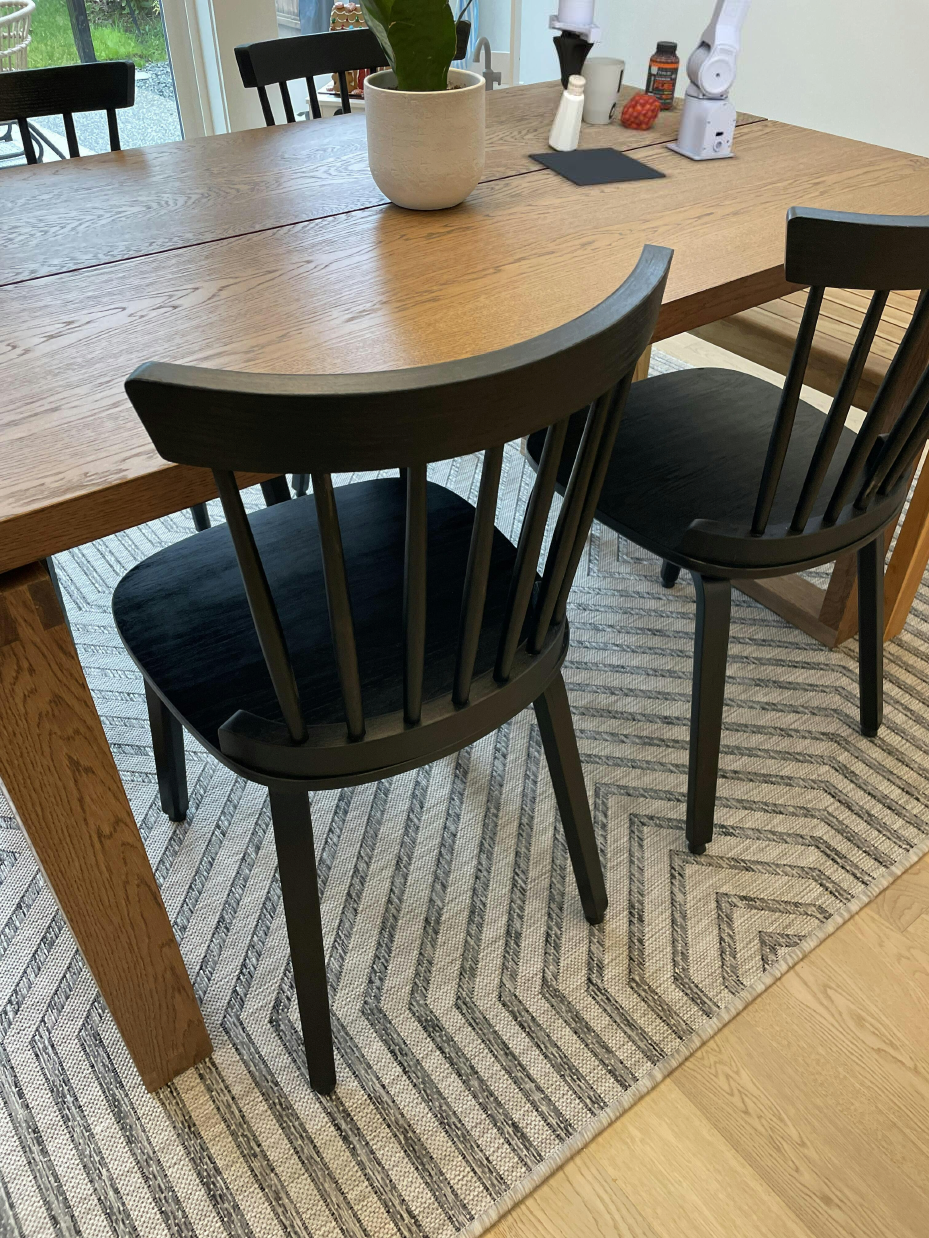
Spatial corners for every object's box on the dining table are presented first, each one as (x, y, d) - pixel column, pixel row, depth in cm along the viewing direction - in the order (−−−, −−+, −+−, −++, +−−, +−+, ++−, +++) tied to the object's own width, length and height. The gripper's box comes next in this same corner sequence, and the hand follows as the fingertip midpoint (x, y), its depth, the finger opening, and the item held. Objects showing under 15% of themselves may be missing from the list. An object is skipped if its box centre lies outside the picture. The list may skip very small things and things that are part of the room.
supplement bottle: (650, 111, 184) (659, 45, 177) (638, 104, 189) (646, 40, 181) (677, 110, 186) (687, 45, 178) (664, 103, 190) (674, 39, 183)
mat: (665, 177, 149) (666, 175, 148) (578, 186, 144) (578, 184, 143) (610, 149, 161) (610, 147, 161) (528, 156, 156) (528, 154, 156)
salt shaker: (554, 153, 158) (569, 88, 149) (542, 136, 161) (556, 70, 151) (582, 151, 160) (599, 86, 151) (570, 134, 162) (585, 69, 153)
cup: (620, 127, 174) (627, 66, 167) (577, 125, 174) (583, 65, 167) (616, 116, 180) (623, 57, 173) (575, 115, 180) (580, 56, 173)
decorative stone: (625, 136, 177) (666, 121, 174) (622, 139, 172) (665, 123, 169) (616, 101, 175) (658, 84, 172) (613, 102, 169) (656, 85, 166)
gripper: (535, -17, 149) (529, 79, 158) (577, -5, 139) (568, 97, 148) (573, -18, 151) (565, 77, 160) (617, -6, 141) (606, 94, 150)
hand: (569, 86), depth 154 cm, fingers closed
